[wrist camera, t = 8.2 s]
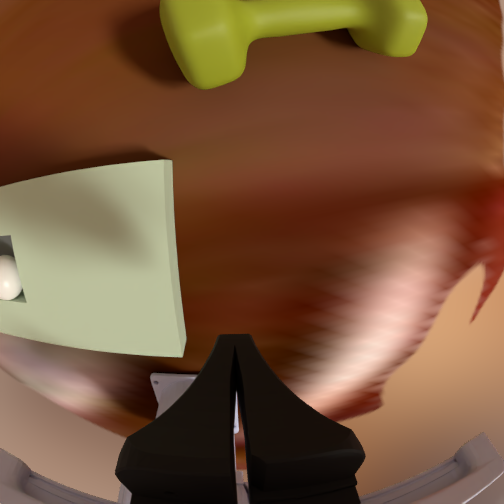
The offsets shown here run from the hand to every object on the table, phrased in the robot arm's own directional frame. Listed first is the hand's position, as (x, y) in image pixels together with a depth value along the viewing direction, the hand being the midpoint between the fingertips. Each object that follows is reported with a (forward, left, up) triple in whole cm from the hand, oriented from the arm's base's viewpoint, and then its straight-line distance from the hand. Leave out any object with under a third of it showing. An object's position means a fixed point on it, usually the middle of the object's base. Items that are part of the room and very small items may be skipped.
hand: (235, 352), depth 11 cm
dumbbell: (+18, -4, -10) cm, 21 cm away
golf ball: (0, +21, -7) cm, 22 cm away
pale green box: (+1, +16, -9) cm, 19 cm away
